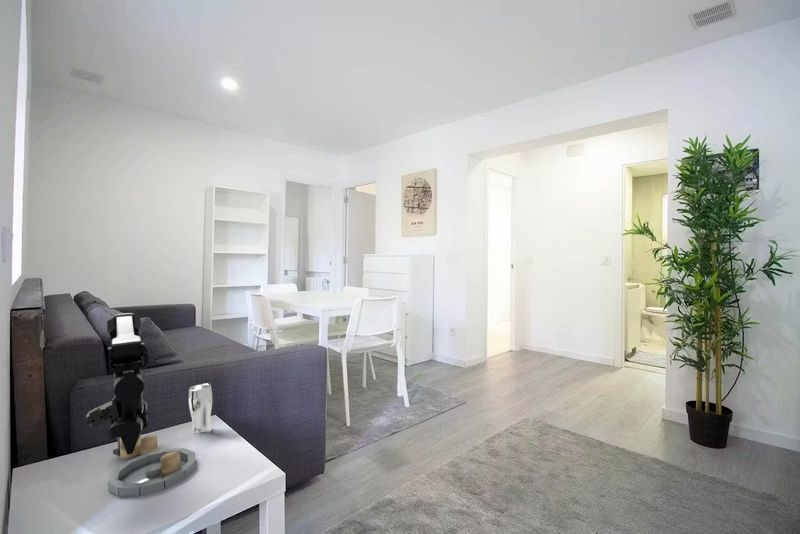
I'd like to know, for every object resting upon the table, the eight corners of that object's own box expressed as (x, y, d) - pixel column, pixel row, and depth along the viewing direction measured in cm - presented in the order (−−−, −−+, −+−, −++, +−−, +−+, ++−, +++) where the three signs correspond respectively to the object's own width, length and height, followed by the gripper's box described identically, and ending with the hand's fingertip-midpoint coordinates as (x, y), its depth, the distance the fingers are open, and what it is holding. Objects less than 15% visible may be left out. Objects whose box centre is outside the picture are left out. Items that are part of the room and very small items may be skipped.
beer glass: (191, 429, 129) (189, 385, 129) (214, 425, 132) (212, 382, 132) (188, 438, 123) (187, 391, 123) (212, 433, 126) (211, 388, 125)
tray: (95, 486, 97) (94, 475, 97) (171, 452, 114) (171, 442, 114) (133, 509, 88) (133, 496, 88) (210, 468, 104) (210, 458, 104)
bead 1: (142, 448, 101) (141, 429, 101) (140, 455, 97) (139, 436, 97) (121, 452, 99) (120, 433, 99) (119, 460, 95) (118, 440, 95)
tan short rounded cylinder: (157, 477, 99) (157, 458, 99) (175, 468, 103) (174, 450, 103) (167, 481, 97) (166, 462, 97) (184, 473, 101) (183, 454, 100)
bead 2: (136, 457, 112) (136, 440, 112) (152, 450, 115) (152, 434, 115) (144, 461, 109) (144, 443, 109) (160, 454, 113) (160, 437, 113)
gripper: (95, 385, 102) (98, 443, 102) (79, 408, 86) (82, 477, 86) (145, 378, 107) (148, 433, 108) (139, 398, 91) (142, 463, 92)
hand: (131, 450), depth 98 cm, fingers closed on bead 1, 4 cm apart
